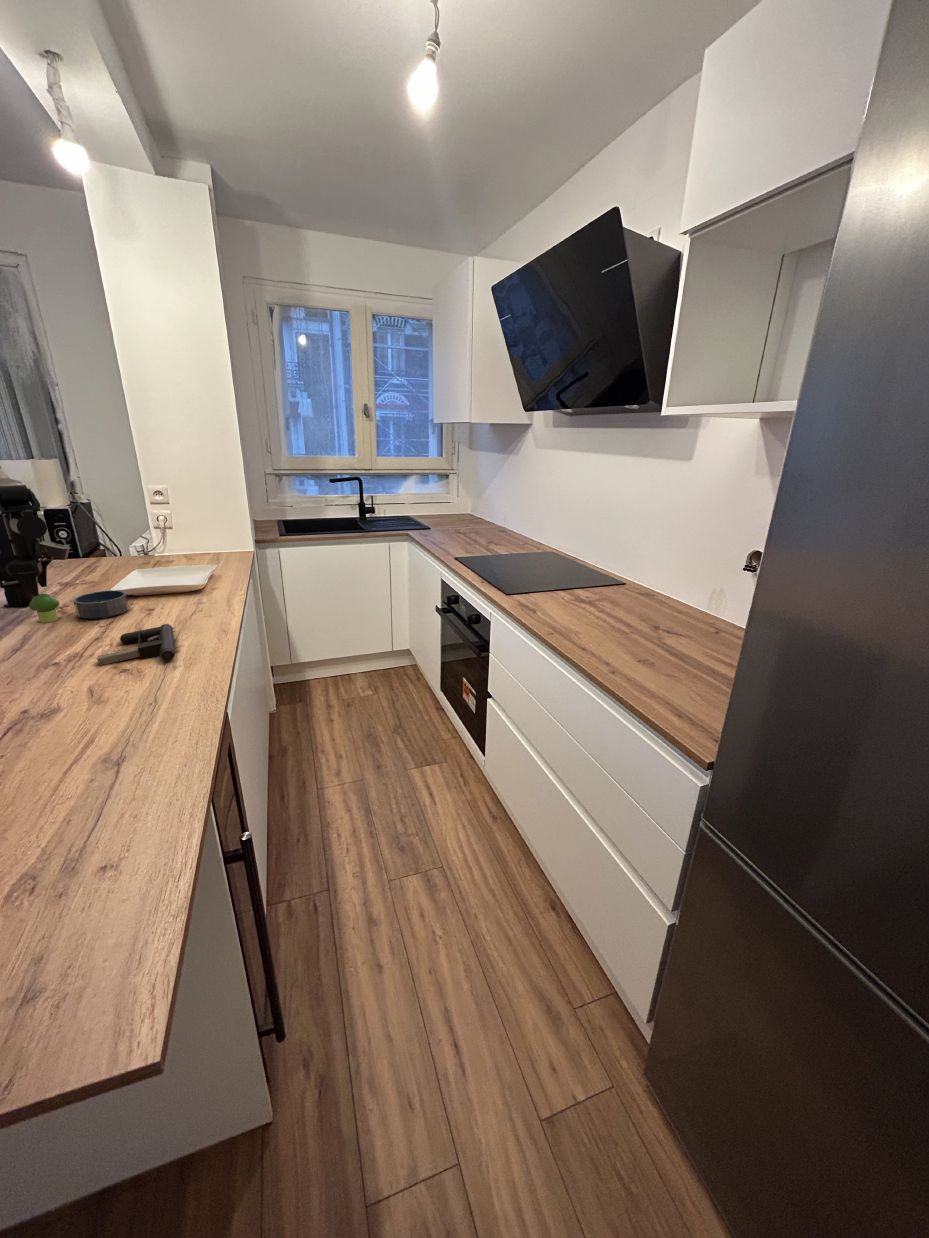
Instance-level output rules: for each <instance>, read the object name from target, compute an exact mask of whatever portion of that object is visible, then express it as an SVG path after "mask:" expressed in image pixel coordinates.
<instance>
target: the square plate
mask: <svg viewBox="0 0 929 1238" xmlns="http://www.w3.org/2000/svg"><path fill="white" fill-rule="evenodd" d="M217 567H218V564H200V565H199V564H198V565H175V566H174V565H173V566H162V567H150V568H139V569H134V570H132V571H131V572H130V573H129V574H126V576H124V577H123V578H122V579H121V580H119V581H118V582H117V583H116V584H115V585H114V586H112V587H111V588H110V589H109V591H111V590H113V591H123V592H125V593H126V596H137V597H138V596H139V597H141V596H152V595H163V594H178V593H179V594H180V593H189V592H194V591H199V590H202V589H203V588H204V587H205V586H206V584H207V583H208V581H209V579H210V577H211V576H212V574H213V573H214V572H215V571H216V569H217Z"/></svg>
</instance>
